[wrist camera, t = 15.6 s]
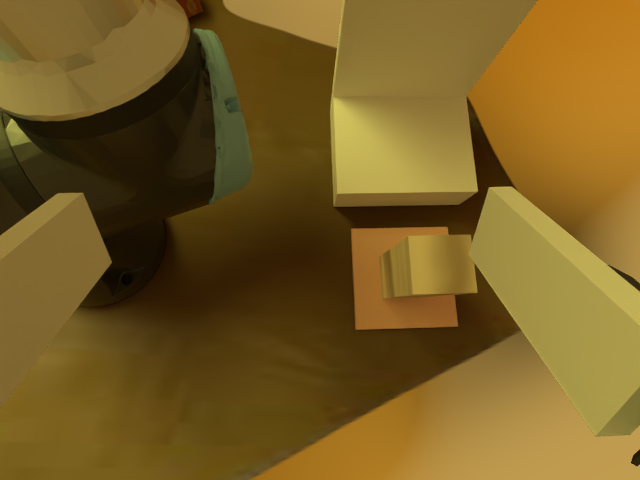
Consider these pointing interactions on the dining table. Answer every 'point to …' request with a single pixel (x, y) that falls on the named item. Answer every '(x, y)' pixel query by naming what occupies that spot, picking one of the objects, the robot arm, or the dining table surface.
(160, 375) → the dining table surface
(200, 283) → the dining table surface
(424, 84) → the l-shaped bookend
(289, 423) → the dining table surface
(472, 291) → the maple block
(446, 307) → the tile pad
